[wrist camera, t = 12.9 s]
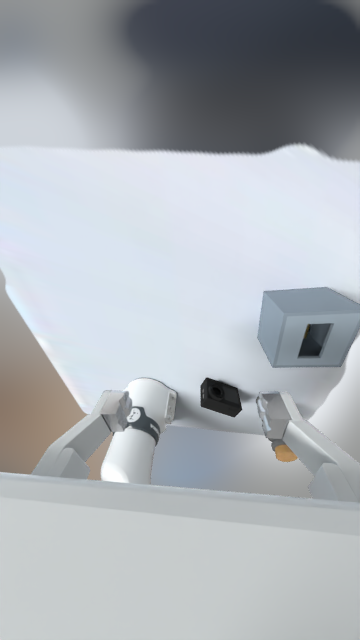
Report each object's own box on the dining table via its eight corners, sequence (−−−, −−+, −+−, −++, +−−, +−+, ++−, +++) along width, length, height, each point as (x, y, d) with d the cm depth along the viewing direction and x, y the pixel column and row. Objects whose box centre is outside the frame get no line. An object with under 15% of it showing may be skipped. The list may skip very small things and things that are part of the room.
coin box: (310, 335, 41) (340, 366, 32) (257, 337, 42) (272, 367, 34) (326, 287, 35) (368, 309, 26) (263, 291, 36) (284, 313, 28)
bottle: (280, 399, 53) (306, 457, 40) (265, 408, 55) (286, 465, 42) (265, 391, 52) (287, 448, 39) (251, 401, 54) (268, 457, 41)
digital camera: (239, 385, 52) (245, 407, 45) (230, 396, 54) (234, 418, 48) (208, 374, 50) (209, 395, 44) (200, 385, 53) (200, 406, 47)
